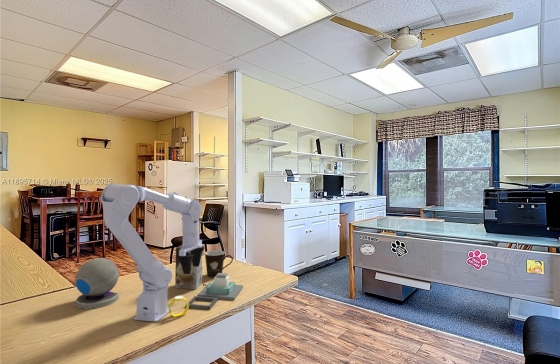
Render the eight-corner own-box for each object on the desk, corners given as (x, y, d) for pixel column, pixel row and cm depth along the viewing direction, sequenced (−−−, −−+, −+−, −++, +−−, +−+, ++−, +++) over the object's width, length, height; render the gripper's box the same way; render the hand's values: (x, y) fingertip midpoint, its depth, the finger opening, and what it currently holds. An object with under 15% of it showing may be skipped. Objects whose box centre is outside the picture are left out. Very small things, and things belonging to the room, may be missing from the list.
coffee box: (174, 288, 116) (174, 247, 116) (181, 282, 123) (181, 244, 122) (196, 289, 115) (197, 248, 115) (202, 283, 122) (203, 244, 122)
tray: (210, 309, 98) (210, 306, 98) (185, 307, 100) (185, 304, 100) (217, 300, 105) (217, 297, 105) (194, 298, 107) (194, 296, 107)
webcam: (126, 296, 108) (126, 255, 108) (96, 311, 96) (96, 265, 96) (98, 292, 112) (98, 252, 111) (65, 306, 99) (65, 262, 99)
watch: (186, 312, 97) (188, 294, 97) (188, 316, 94) (190, 297, 95) (167, 315, 94) (169, 296, 94) (169, 319, 91) (170, 299, 92)
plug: (226, 291, 111) (226, 276, 111) (213, 291, 112) (214, 275, 111) (229, 288, 114) (229, 273, 114) (217, 287, 115) (217, 272, 115)
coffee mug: (200, 277, 130) (201, 254, 129) (211, 271, 138) (211, 249, 138) (224, 280, 126) (225, 256, 126) (233, 273, 134) (233, 252, 134)
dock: (234, 300, 106) (234, 291, 106) (197, 297, 108) (197, 289, 108) (243, 287, 118) (243, 280, 118) (209, 285, 120) (209, 278, 120)
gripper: (192, 237, 98) (193, 277, 99) (209, 228, 113) (209, 263, 113) (172, 237, 99) (173, 276, 100) (191, 228, 114) (192, 263, 114)
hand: (191, 269), depth 107 cm, fingers open, 7 cm apart
